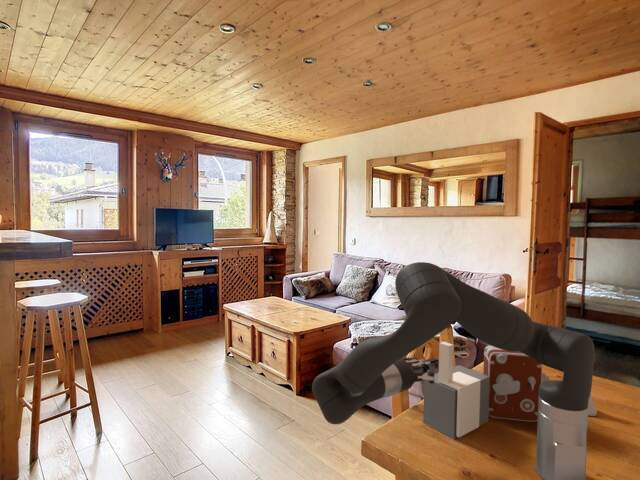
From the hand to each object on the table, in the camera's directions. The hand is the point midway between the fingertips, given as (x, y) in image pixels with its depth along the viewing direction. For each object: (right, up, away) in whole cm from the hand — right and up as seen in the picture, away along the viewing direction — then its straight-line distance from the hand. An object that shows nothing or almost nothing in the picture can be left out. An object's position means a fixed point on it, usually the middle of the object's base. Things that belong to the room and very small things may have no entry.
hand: (436, 362), depth 98 cm
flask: (+49, -20, +15) cm, 55 cm away
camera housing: (+10, -20, +9) cm, 24 cm away
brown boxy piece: (+28, -20, +11) cm, 36 cm away
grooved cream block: (+7, -19, +4) cm, 21 cm away
